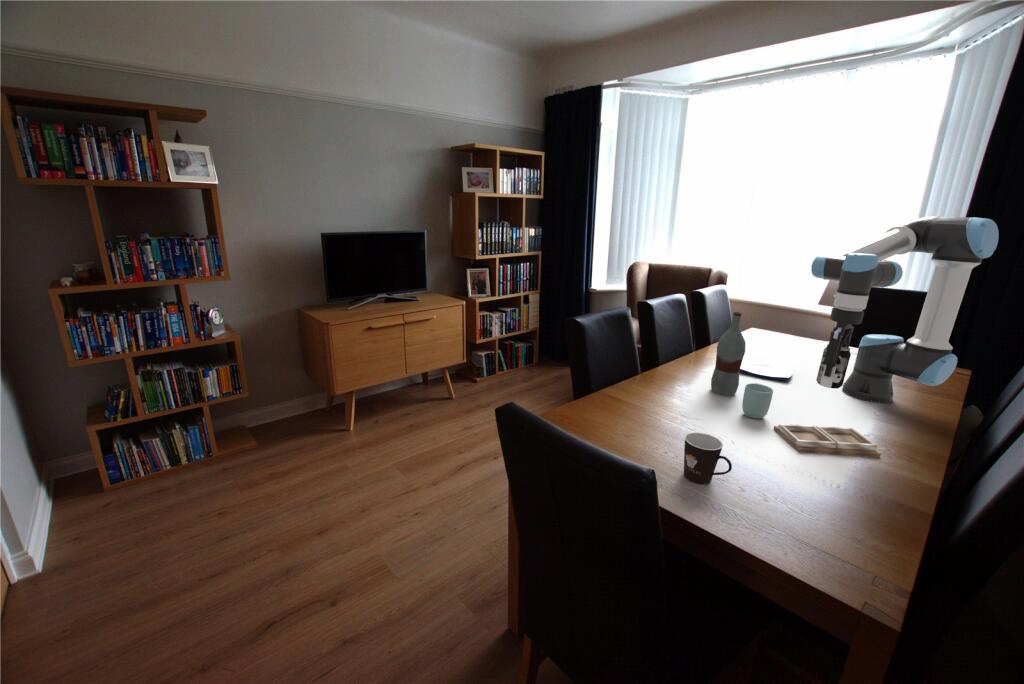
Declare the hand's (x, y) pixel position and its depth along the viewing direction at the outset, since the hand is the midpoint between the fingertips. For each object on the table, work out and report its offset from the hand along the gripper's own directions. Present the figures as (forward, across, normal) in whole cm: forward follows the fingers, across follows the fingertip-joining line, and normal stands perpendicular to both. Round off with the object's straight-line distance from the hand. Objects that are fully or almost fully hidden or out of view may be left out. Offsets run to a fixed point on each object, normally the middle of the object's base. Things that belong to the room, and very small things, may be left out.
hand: (829, 383), depth 137 cm
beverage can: (+1, 0, 0) cm, 1 cm away
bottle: (+16, -6, -32) cm, 36 cm away
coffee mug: (+16, +56, -9) cm, 59 cm away
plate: (+16, -44, -32) cm, 57 cm away
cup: (+16, +6, -17) cm, 24 cm away
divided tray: (+15, +8, +4) cm, 18 cm away
